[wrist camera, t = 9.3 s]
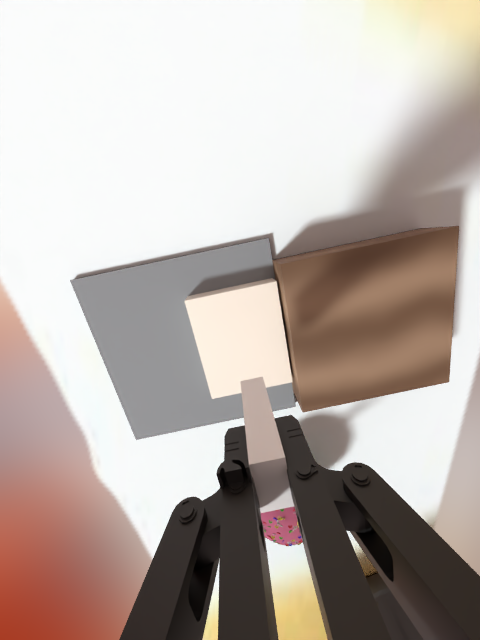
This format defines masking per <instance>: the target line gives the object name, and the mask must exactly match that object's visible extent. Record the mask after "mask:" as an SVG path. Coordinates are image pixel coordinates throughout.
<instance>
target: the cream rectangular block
mask: <svg viewBox="0 0 480 640" xmlns="http://www.w3.org/2000/svg"><path fill="white" fill-rule="evenodd" d="M185 305H186V308H187V312H188V315H189V319H190V323H191V326H192V330H193V333H194V337H195V340H196V344H197V347H198V351H199V355H200V358H201V362H202V365H203V369H204V372H205V376H206V379H207V383H208V387H209V390H210V394H211V397H212V399H215V398H220V397H224V396H229V395H234V394H239V393H242V392H241V383H240V381H243V380H248V379H253V378H258V377H263V379H264V383H265V386H266V388H267V387H272V386H277V385H281V384H286V383H291V382H292V375H291V369H290V363H289V357H288V350H287V344H286V338H285V332H284V325H283V319H282V313H281V306H280V300H279V294H278V288H277V281H275V280H274V279H273V278H270V279H265V280H261V281H256V282H251V283H247V284H242V285H237V286H233V287H228V288H223V289H219V290H214V291H209V292H205V293H200V294H195V295H191V296H188V297H187V298H186V299H185Z"/></svg>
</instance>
